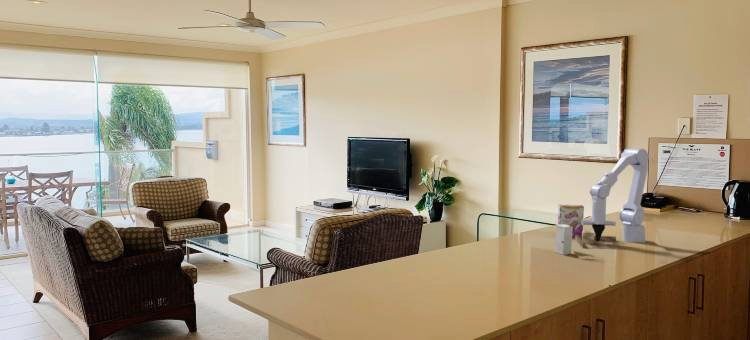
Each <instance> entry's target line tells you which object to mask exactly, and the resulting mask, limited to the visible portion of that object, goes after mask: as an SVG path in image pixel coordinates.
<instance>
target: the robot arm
mask: <svg viewBox="0 0 750 340" xmlns="http://www.w3.org/2000/svg"><path fill="white" fill-rule="evenodd" d="M649 158H650V154H649V153H648V150H646V149H644V148H630V147H627V148H625V149H624V150H623V152H621V154H620V159H618V161H617V163H616V164H615V166H614V167H613V168H612V169H611V171H607V172H605V173H604V174H603V176H602V178H601V179H600V180H599V181H598V182H597V183H596V184H593V186H591V188H590V190H589V194H590V195H591V201H592V203H591V204H592V205H591V206H592V207H591V208H592V211H591V219H588V220H587V219H583V220H582V222H581V224H582V225H583V226H591V227H592V229H593V231H594V236H596V241H600V238H601V236H603V233H604V231H605V229H606V226H608V227H609V226H611V227H616V226H617V222H616V221H615V220H606V215H607V214H606V213H607V211H606V210H607V197H609V196H610V194H611V193H610V191H611V189H612V187H613V186H614V185H615V184H616V183H617V182H618V177H619V175H620V174H621V173H622V172H623V171H624V170H625V169H626V168H627V167H628V166H629V165H630V166H631V167H632V169H634V170H633V175H632V179H631V184H630V189H629V193H628V197H627V198H628V199H627V202H626V203H624V204H623V205H622V209H621V210H620V211H619V214H618V215H619V216H618V217H619V220H620V221H621V224H622V234H621V235H622V236H621V238H622V239H621V240H622V241H623V242H627V243H646V226H645V225H644V224H643V222H644V221H645V220H644V219H645V216H644V215H645V214H644V212H645V210H644V207H643V206H642V205H641V203H642V200H643V199H642V198H643V194H644V193H643V192H644V189H645V183H646V179H647V175H648V170H649Z"/></svg>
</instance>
